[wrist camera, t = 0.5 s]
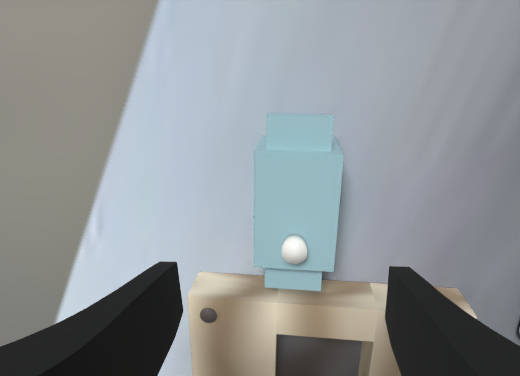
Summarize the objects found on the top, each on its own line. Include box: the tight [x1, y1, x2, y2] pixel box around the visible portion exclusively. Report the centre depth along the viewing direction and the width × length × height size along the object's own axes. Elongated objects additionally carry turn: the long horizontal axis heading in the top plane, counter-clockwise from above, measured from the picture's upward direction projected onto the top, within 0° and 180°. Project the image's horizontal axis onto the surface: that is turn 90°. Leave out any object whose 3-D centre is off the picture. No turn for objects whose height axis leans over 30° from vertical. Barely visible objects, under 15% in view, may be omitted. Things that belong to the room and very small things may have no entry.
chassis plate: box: [187, 272, 477, 376], centre depth 24 cm, size 16×12×3 cm
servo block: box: [254, 113, 344, 291], centre depth 19 cm, size 4×9×5 cm, turn 179°
